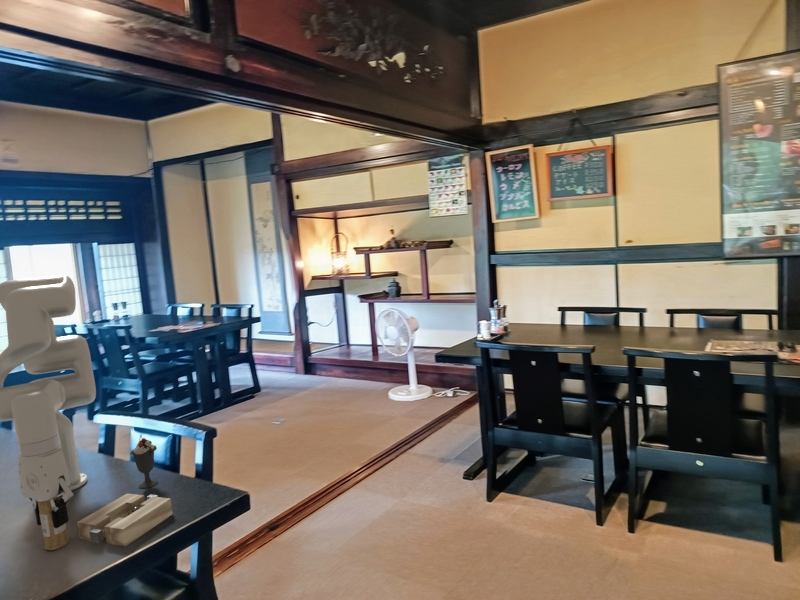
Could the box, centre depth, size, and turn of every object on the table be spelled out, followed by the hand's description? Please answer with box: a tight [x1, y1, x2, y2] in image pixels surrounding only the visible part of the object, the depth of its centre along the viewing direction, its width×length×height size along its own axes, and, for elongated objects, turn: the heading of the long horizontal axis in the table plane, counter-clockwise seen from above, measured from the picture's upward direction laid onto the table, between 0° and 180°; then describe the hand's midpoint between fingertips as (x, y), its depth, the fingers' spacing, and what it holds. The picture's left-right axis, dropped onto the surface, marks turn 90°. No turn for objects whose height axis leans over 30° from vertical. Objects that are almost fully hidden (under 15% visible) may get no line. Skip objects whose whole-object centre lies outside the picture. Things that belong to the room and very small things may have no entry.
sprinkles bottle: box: [36, 491, 69, 551], centre depth 120 cm, size 5×5×13 cm
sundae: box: [129, 434, 159, 490], centre depth 149 cm, size 7×7×15 cm
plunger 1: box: [89, 520, 114, 544], centre depth 122 cm, size 2×7×2 cm, turn 159°
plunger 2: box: [132, 494, 159, 513], centre depth 132 cm, size 2×7×2 cm, turn 159°
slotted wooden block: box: [76, 493, 174, 547], centre depth 127 cm, size 14×14×4 cm
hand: (53, 522), depth 120 cm, fingers closed on sprinkles bottle, 4 cm apart
